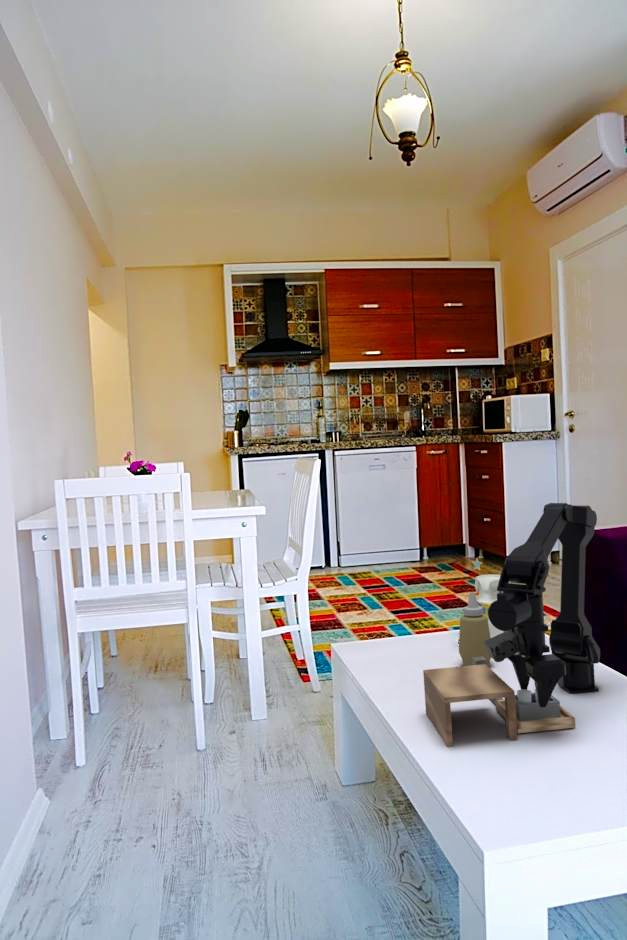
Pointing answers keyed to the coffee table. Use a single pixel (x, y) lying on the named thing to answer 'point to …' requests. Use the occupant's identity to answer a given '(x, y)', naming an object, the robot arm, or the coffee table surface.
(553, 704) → the tray
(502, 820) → the coffee table surface
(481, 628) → the squeeze bottle
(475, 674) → the wooden stand
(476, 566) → the spray bottle
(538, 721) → the shallow wooden box
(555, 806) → the coffee table surface
